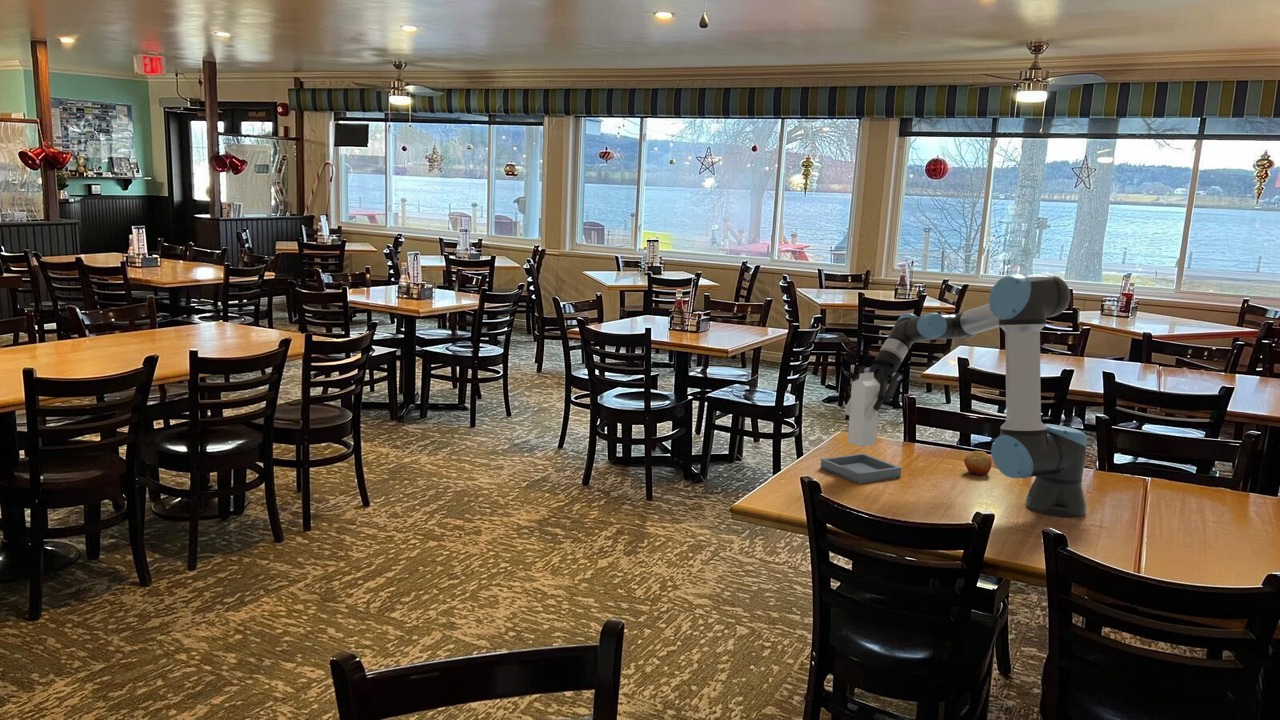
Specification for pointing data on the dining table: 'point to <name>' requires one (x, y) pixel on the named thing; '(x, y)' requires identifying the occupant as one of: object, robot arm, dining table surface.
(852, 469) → the tray
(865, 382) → the milk
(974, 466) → the fruit
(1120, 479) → the dining table surface
